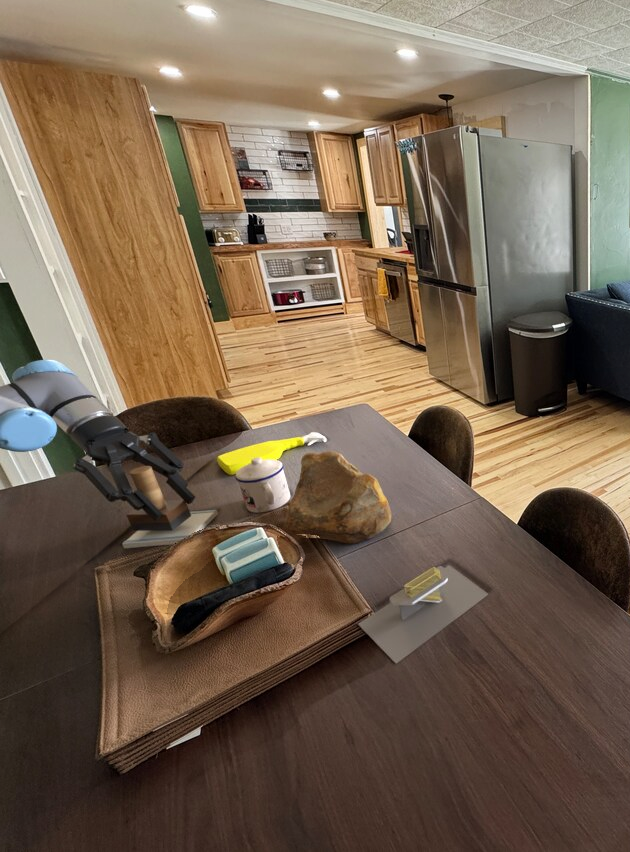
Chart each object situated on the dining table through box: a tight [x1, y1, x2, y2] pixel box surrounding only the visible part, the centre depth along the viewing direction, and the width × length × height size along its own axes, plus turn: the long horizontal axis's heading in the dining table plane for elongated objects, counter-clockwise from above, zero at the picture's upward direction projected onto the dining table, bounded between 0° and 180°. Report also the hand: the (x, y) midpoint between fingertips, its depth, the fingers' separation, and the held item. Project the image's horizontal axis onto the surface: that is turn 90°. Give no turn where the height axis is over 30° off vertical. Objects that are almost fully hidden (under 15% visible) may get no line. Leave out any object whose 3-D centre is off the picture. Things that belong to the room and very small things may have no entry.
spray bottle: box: [216, 431, 328, 476], centre depth 131 cm, size 3×11×24 cm
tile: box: [121, 509, 219, 549], centre depth 101 cm, size 12×10×1 cm
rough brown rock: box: [283, 450, 392, 545], centre depth 99 cm, size 23×17×15 cm
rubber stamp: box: [125, 465, 191, 532], centre depth 97 cm, size 8×5×13 cm, turn 91°
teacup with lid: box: [234, 457, 291, 514], centre depth 108 cm, size 12×9×12 cm
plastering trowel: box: [357, 565, 489, 665], centre depth 81 cm, size 12×18×7 cm, turn 142°
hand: (175, 508), depth 97 cm, fingers closed on rubber stamp, 5 cm apart
